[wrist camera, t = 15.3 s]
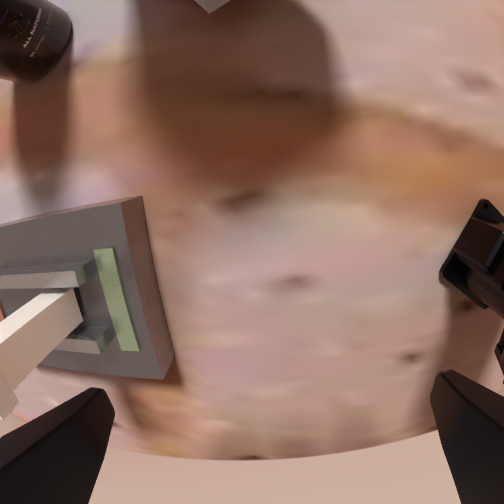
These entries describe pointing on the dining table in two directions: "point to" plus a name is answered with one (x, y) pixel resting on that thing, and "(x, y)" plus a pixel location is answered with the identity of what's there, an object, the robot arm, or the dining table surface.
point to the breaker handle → (33, 338)
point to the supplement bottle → (31, 38)
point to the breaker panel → (92, 285)
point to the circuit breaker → (211, 4)
